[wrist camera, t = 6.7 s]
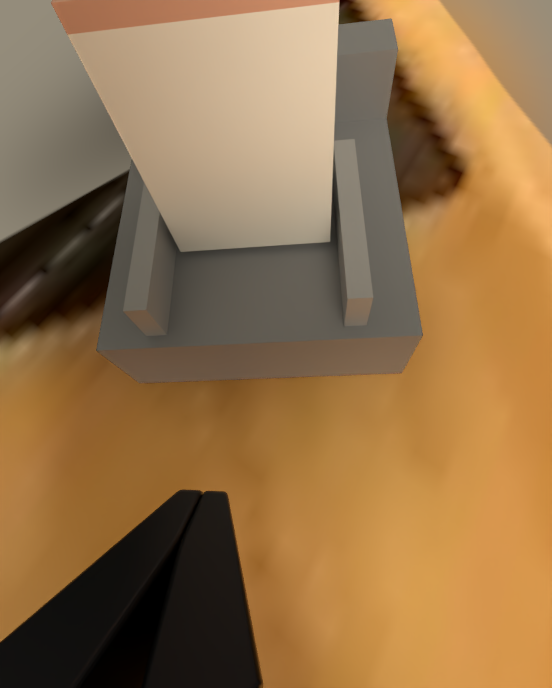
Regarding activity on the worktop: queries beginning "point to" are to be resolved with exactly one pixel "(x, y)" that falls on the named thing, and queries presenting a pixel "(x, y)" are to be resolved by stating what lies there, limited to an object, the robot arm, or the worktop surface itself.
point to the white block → (220, 110)
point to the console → (279, 266)
